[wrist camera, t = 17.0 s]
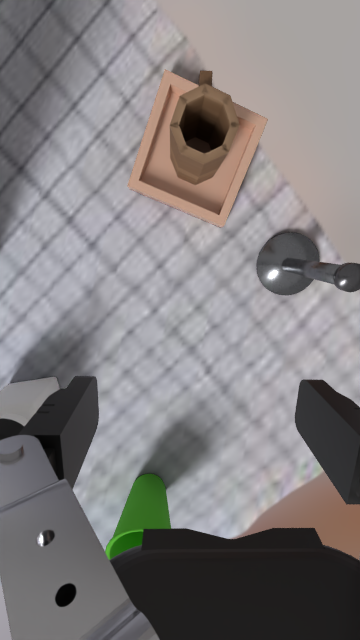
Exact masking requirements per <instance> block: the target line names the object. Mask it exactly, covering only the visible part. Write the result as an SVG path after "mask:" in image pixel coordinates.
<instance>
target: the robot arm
mask: <svg viewBox="0 0 360 640" xmlns="http://www.w3.org/2000/svg"><path fill="white" fill-rule="evenodd" d="M98 419H99V408H98V389H97V379H96V377H94V376H75V377H74V379H73V380H72V381H71V383H70V384H69V386H68V387H67V388H66V389H59V390H57V391H56V392H54V393H53V394H51V395H49V396H48V397H47V399H46V400H45V401H44V402H43V404H42V406H40V408H39V409H38V410H37V411H36V413H35V414H34V415H33V416H32V418H31V419H30V420H29V421H28V423H27V424H26V425H25V426H24V428H23V429H22V430H21V431H20V433H19V434H18V435H17V436H12V437H9V438H5V439H3V440H1V441H0V577H1V582H2V588H3V593H4V599H5V604H6V610H7V615H8V621H9V626H10V632H11V637H12V640H360V558H359V560H358V559H356V558H354V557H352V556H351V555H348V554H346V553H344V552H342V551H340V550H337V549H334V548H332V547H329V546H325V545H323V544H322V542H321V540H320V538H319V536H318V534H317V532H316V530H315V528H272V529H269V530H265V531H262V532H258V533H255V534H251V535H248V536H245V537H241V538H238V539H226V538H222V537H218V536H214V535H210V534H206V533H202V532H198V531H194V530H190V529H143V538H142V545H140V546H136V547H133V548H131V549H128V550H126V551H124V552H122V553H120V554H118V555H117V556H115V557H113V558H112V559H110V560H109V559H108V557H107V555H106V553H105V551H104V549H103V547H102V545H101V543H100V542H99V540H98V538H97V536H96V534H95V532H94V530H93V528H92V526H91V524H90V523H89V521H88V519H87V517H86V515H85V513H84V511H83V509H82V507H81V505H80V504H79V502H78V500H77V498H76V496H75V494H74V492H73V490H72V489H73V487H74V484H75V482H76V479H77V477H78V474H79V472H80V469H81V467H82V464H83V462H84V459H85V457H86V454H87V452H88V449H89V447H90V444H91V442H92V439H93V437H94V434H95V432H96V429H97V425H98ZM295 423H296V427H297V430H298V432H299V433H300V435H301V436H302V438H303V439H304V441H305V442H306V444H307V445H308V447H309V448H310V450H311V451H312V453H313V455H314V456H315V458H316V459H317V461H318V462H319V464H320V465H321V467H322V468H323V470H324V471H325V473H326V474H327V476H328V477H329V479H330V480H331V482H332V483H333V485H334V486H335V488H336V489H337V490H338V492H339V494H340V495H341V497H342V498H343V500H344V501H345V503H346V504H360V407H359V406H358V405H357V404H355V403H354V402H353V401H352V400H351V399H349V398H347V397H345V396H343V395H341V394H340V393H338V392H336V391H335V390H334V389H333V388H332V387H331V386H329V385H328V384H327V383H326V382H325V381H324V380H302V381H301V382H300V385H299V392H298V398H297V405H296V412H295Z"/></svg>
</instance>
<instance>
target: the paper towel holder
mask: <svg viewBox="0 0 360 640" xmlns="http://www.w3.org/2000/svg"><path fill="white" fill-rule="evenodd" d="M257 274H258V277H259V280H260V281H261V283H262V284H263V286H264V287H265V288H267V289H268V290H269V291H271V292H273V293H276V294H279V295H292V294H296V293H298V292H300V291H302V290H304V289H305V288H306V287H308V286H309V285H310V283H311V282H312V281H313V280H314V279H316V280H319V281H323V282H327V283H331V284H334V285H335V286H336V287H337V288H338V289H340V290H343V291H347V292H355V291H357V290H359V289H360V264H357V263H344V264H342V265H338V264H331V263H324V262H319V254H318V251H317V248H316V246H315V245H314V243H313V242H312V241H311V240H310V239H309V238H308V237H306V236H304V235H302V234H299V233H283V234H280V235H277V236H275V237H273V238H272V239H270V240H269V241H268V242H267V243H266V244H265V245H264V246H263V248H262V249H261V251H260V253H259V256H258V259H257Z"/></svg>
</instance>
